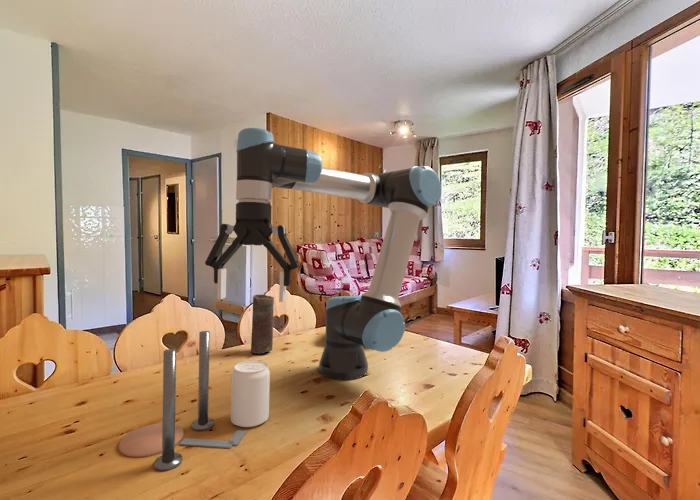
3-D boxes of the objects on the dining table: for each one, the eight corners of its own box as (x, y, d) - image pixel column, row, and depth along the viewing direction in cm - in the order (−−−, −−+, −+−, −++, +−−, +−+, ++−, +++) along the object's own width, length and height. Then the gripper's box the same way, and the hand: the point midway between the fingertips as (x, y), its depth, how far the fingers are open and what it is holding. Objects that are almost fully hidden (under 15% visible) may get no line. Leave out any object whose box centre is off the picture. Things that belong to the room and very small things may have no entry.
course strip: (246, 432, 74) (246, 430, 74) (235, 448, 69) (235, 447, 68) (194, 428, 75) (194, 427, 75) (179, 445, 69) (179, 443, 69)
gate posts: (217, 421, 79) (219, 329, 78) (173, 471, 61) (175, 355, 61) (197, 419, 79) (199, 329, 78) (148, 470, 62) (150, 354, 61)
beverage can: (235, 411, 83) (236, 360, 83) (271, 411, 84) (272, 360, 84) (226, 429, 75) (227, 372, 75) (265, 429, 76) (267, 372, 76)
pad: (193, 427, 76) (193, 424, 76) (163, 459, 65) (163, 455, 65) (143, 424, 76) (143, 421, 76) (104, 455, 65) (104, 451, 65)
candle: (263, 347, 132) (264, 293, 132) (277, 351, 128) (278, 295, 128) (246, 352, 126) (247, 295, 126) (260, 357, 122) (261, 298, 121)
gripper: (313, 205, 81) (311, 299, 82) (206, 203, 83) (204, 294, 83) (307, 201, 74) (304, 305, 74) (189, 199, 75) (187, 300, 76)
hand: (251, 299), depth 79 cm, fingers open, 13 cm apart
